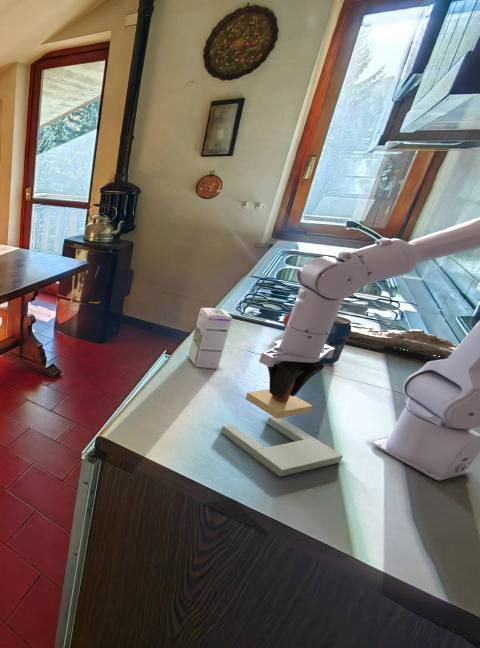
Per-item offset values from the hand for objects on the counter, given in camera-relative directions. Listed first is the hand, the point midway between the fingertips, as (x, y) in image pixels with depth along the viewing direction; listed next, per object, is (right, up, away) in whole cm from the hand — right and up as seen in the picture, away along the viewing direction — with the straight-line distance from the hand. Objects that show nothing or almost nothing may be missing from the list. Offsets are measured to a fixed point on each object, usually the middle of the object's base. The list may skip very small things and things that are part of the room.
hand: (281, 394), depth 72 cm
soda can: (+37, +3, +33) cm, 49 cm away
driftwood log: (+64, +7, +43) cm, 77 cm away
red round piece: (+43, +10, +50) cm, 67 cm away
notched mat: (-1, -10, 0) cm, 10 cm away
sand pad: (0, -2, +1) cm, 3 cm away
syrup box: (+3, +2, +30) cm, 30 cm away
